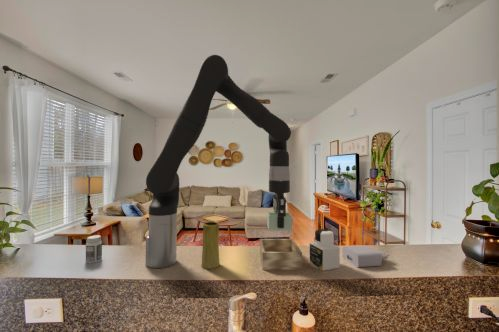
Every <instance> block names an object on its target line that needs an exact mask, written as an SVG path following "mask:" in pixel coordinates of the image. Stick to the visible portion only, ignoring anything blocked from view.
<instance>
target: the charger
mask: <svg viewBox="0 0 499 332" xmlns="http://www.w3.org/2000/svg"><path fill="white" fill-rule="evenodd" d="M341 253H342V258H343V259H344V260H346V261H347V262H348V263H350V264H351V265H353V266H354V267H355V268H369V267H371V268H372V267H381V266H382V263H383V262H382V261H383V260H386V259H388V258H389V256H390V254H388V253H386V252H384V251H381V250H375V249H373V248H372V247H369V246H367V245H365V244H364V245H349V246H348V245H347V246H342V252H341Z"/></svg>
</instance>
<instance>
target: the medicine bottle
mask: <svg viewBox="0 0 499 332" xmlns="http://www.w3.org/2000/svg"><path fill="white" fill-rule="evenodd" d="M314 233H315V235H314V242H313V241H312V242H310V243H309V263H310V264H312V265H313V266H314V267H316V269H319V270H320V271H322V272H324V271H330V270H335V269H340V266H341V265H340V259H341V258H340V252H341V251H340V246H339V245H336V244H334V243H335V242H334V240H335V239H334V238H335V237H334V231H332V230H329V229H326V228H320V229H316V230H315V232H314Z"/></svg>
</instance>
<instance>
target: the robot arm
mask: <svg viewBox="0 0 499 332" xmlns="http://www.w3.org/2000/svg"><path fill="white" fill-rule="evenodd" d="M216 93H218V94H220V95H221V96H223V98H225V99H226V100H228V101H229V102H230V103H231V104H232V105H234V106H235V107H236V108H237V109H238V110H239V111H241V113H242V114H244V115H245V117H246V118H248V120H250V121H251V123H253V124H254V125H255V126H256V127H257V128H259V129H263V130H264V131H265V132H266V133H267V134H268V147H269V170H268V192H269V193H273V199H272V200H273V208H272V209H273V213H277V227H278V228H284V217H285V216H286V213H287V212H286V210H287V208H286V207H287V199H286V197H285V195H284V194H286V193H290V192H291V190H290V189H291V174H290V173H291V170H290V154H289V152H288V147H287V143H288V141H289V140H290V138H291V135H292V130H291V128H290V126H289V125H288V124H287V123H286V122H285V121H284V120H283V119H281V117H278V116H277V115H275V114H273V113H272V112H271V111H270V110H269V109H268V108H267V107H266V106H265V105H264V104H263V103H262V102H261V101H259V100H258V99H257V98H256V97H255V96H253V95H251V94H250V93H248V92H246V91H245V90H243V89H242V88H240V87H239V86H238V85H237V84H236V83H235V81H234V80H233V79H232V78H231V76H230V75H229V67H228V63H227V61H226V59H224V57H222V56H220V55H218V54H212V55H208V56H207V57H206V58H205V59H204V60H203V62H202V63H201V65H200V68H199V71H198V74H197V77H196V80H195V83H194V84H193V88H192V89H191V91H190V93H189V95H188V97H187V98H186V100H185V103H184V104H183V106H182V108H181V110H180V112H179V114H178V116H177V118H176V119H175V122H174V124H173V125H172V128H171V131H170V133H169V134H168V137H167V138H166V141H165V144H164V146H163V149H162V151H161V153H160V154H159V155H158V157H157V159H156V160H155V162H154V164H153V165H152V166H151V168H150V170H149V171H148V173H147V175H146V179H145V185H146V188H147V190H148V191H149V192H150V193H151V194H152V200H151V202H150V204H149V206H148V235H147V236H146V238H145V267H150V268H153V269H164V268H167V267H171V266H173V265H174V264H176V262H177V249H178V248H177V247H178V245H177V244H178V243H177V238H178V237H177V236H178V207H179V206H178V205H179V201H180V177H179V173H178V171H179V168H180V166H181V164H182V162H183V160H184V159H185V157H186V156H187V154H188V153H189V152H190V150H191V149H192V148H193V147H194V146H195V144H196V143H197V141H198V140H199V137H200V136H201V134H202V132H203V129H204V128H205V126H206V122H207V119H208V116H209V111H210V108H211V104H212V102H213V98H214V96H215V94H216Z"/></svg>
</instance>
